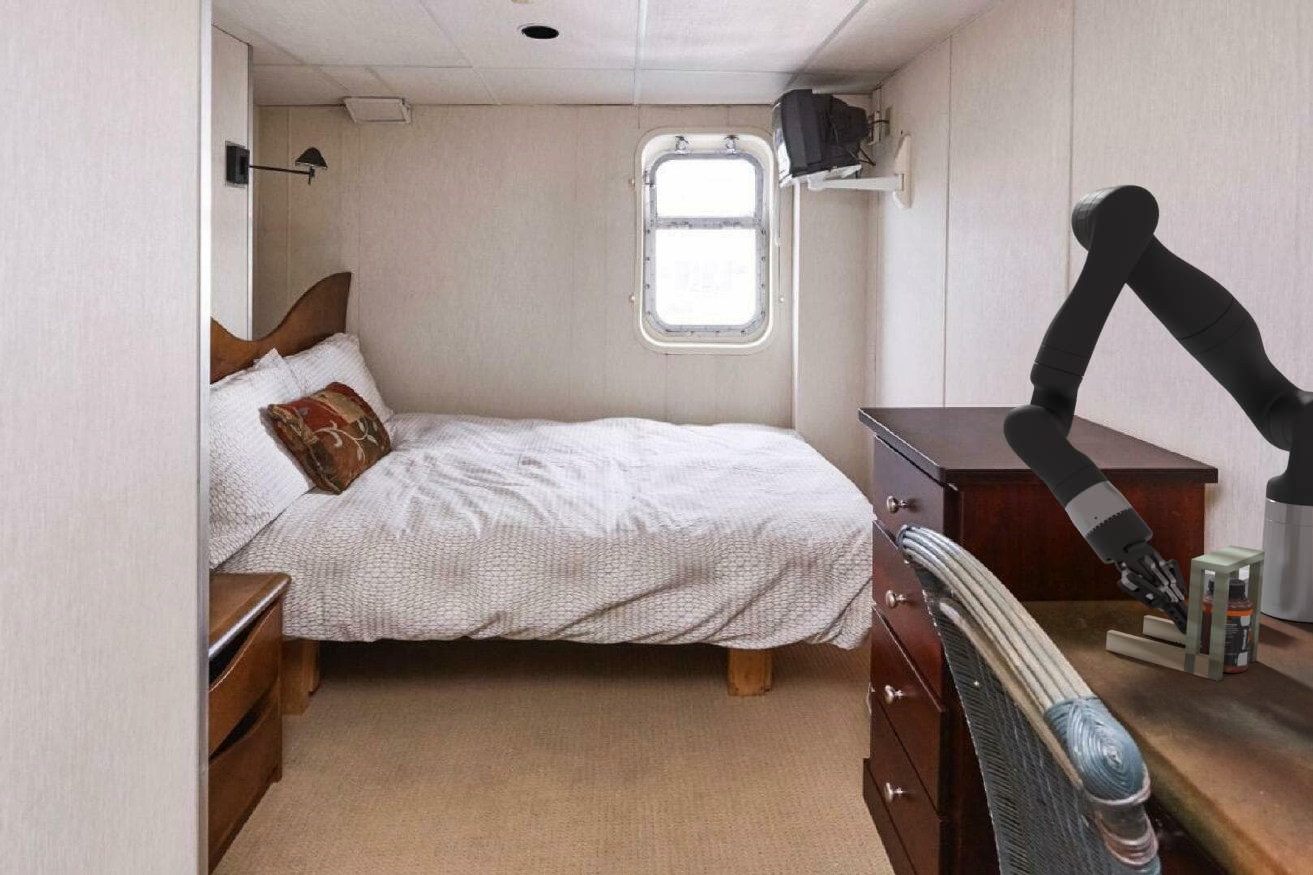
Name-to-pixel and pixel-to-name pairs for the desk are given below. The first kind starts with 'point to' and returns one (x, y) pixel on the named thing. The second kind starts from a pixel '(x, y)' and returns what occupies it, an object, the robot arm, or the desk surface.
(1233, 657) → the supplement bottle
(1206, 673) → the channel
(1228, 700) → the desk surface
